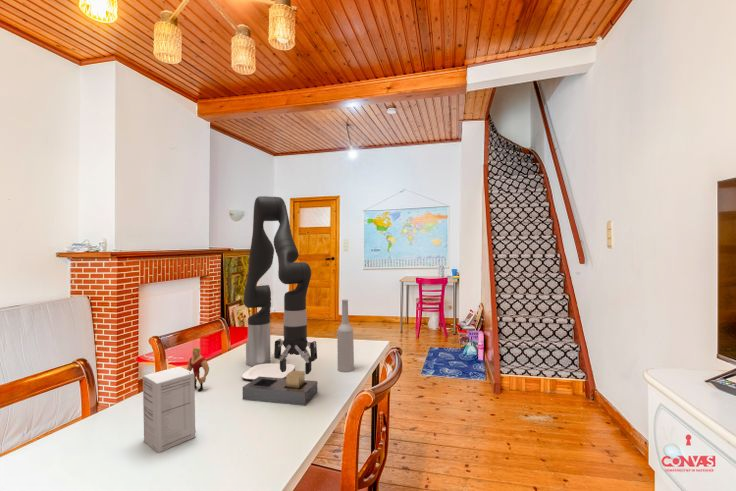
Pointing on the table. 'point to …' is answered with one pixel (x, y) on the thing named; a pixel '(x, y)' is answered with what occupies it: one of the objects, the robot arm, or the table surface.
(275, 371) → the plate
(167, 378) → the supplement box
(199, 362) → the action figure
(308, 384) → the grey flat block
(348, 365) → the bottle
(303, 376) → the brass peg
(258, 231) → the robot arm
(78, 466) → the table surface
